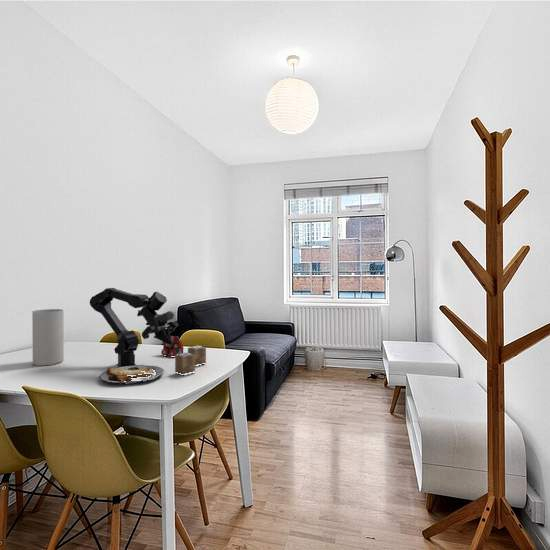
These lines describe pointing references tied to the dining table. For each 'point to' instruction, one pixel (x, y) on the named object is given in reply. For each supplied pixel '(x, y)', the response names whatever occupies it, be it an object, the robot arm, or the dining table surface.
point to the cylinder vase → (47, 337)
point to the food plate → (129, 373)
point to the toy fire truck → (173, 347)
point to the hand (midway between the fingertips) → (171, 344)
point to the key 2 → (184, 354)
